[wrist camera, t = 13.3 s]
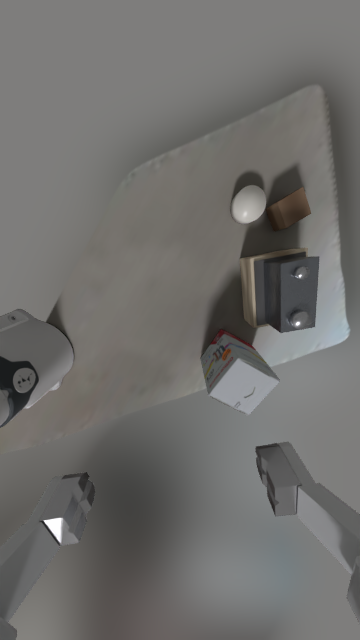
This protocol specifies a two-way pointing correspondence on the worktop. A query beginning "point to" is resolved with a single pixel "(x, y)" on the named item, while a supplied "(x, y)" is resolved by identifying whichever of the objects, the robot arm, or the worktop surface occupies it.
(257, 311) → the stand
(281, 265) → the block
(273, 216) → the walnut block
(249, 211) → the white egg shape
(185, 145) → the worktop surface
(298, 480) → the robot arm
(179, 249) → the worktop surface
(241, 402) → the ink box
